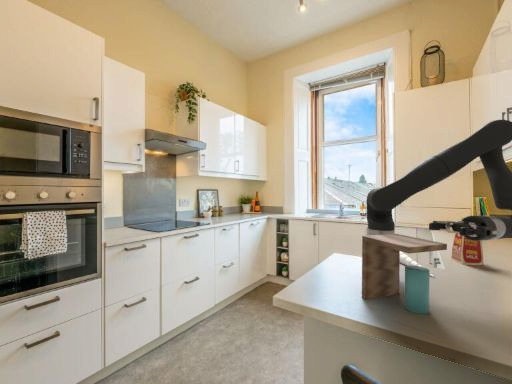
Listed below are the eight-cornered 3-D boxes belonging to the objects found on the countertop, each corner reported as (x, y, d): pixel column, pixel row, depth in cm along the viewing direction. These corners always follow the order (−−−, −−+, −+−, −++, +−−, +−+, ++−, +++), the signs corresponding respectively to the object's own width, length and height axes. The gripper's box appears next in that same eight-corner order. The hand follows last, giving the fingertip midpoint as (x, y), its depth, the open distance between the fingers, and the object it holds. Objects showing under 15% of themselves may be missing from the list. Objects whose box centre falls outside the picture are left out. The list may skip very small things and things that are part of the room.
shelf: (395, 292, 79) (395, 233, 79) (446, 315, 65) (446, 243, 64) (361, 297, 75) (362, 235, 75) (408, 323, 60) (408, 247, 60)
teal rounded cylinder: (406, 311, 67) (407, 270, 66) (403, 302, 72) (403, 264, 72) (431, 315, 65) (432, 273, 64) (426, 306, 70) (426, 266, 70)
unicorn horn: (424, 278, 93) (424, 265, 93) (391, 260, 116) (391, 250, 116) (437, 278, 92) (437, 265, 92) (401, 260, 116) (401, 250, 116)
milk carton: (462, 264, 109) (463, 218, 109) (450, 258, 118) (450, 216, 118) (486, 265, 108) (487, 219, 108) (471, 259, 117) (472, 216, 117)
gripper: (457, 213, 83) (421, 213, 78) (513, 218, 70) (474, 219, 65) (456, 235, 84) (420, 237, 78) (511, 245, 70) (472, 248, 65)
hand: (444, 228), depth 72 cm, fingers open, 8 cm apart
